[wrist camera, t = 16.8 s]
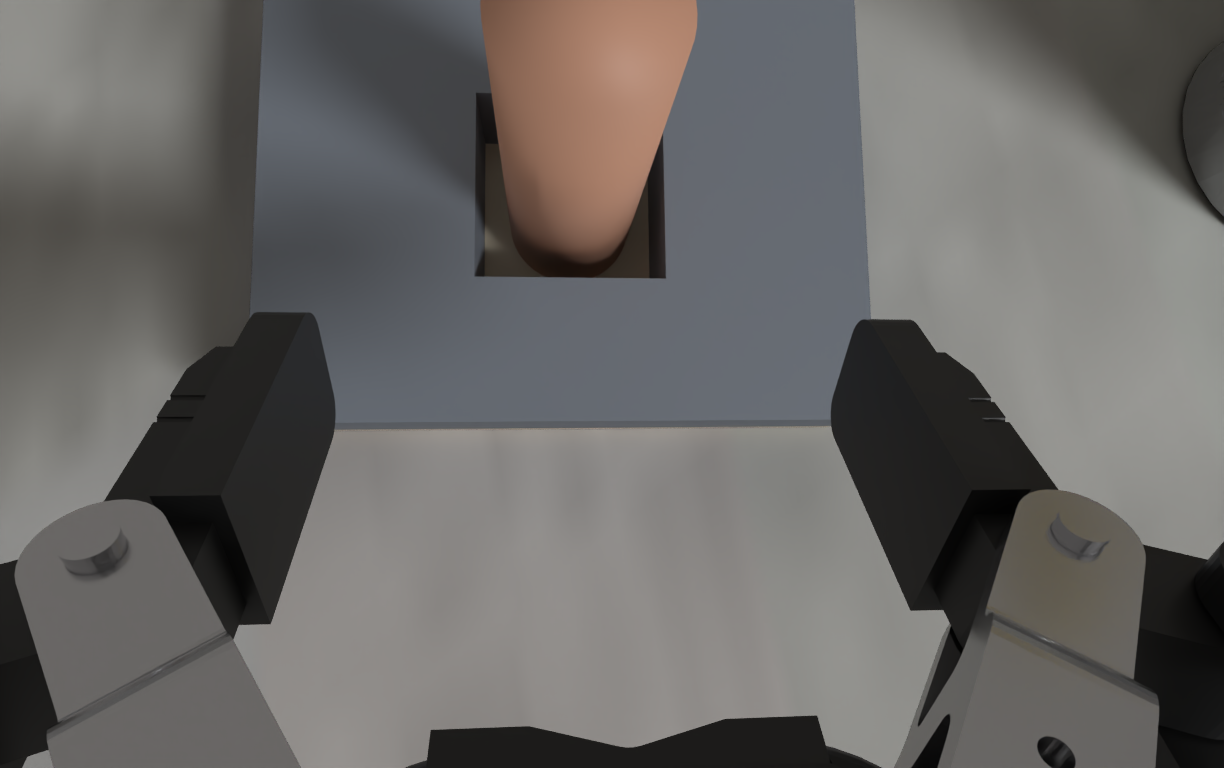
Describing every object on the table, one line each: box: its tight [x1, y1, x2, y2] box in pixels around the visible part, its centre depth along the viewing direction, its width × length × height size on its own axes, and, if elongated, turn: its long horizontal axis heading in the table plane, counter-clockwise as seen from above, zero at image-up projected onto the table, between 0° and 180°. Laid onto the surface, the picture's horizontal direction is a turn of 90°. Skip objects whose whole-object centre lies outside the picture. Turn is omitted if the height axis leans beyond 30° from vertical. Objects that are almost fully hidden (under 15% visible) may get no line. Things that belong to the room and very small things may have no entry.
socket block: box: [249, 0, 871, 431], centre depth 24 cm, size 18×14×4 cm
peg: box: [480, 0, 698, 278], centre depth 20 cm, size 4×4×12 cm
